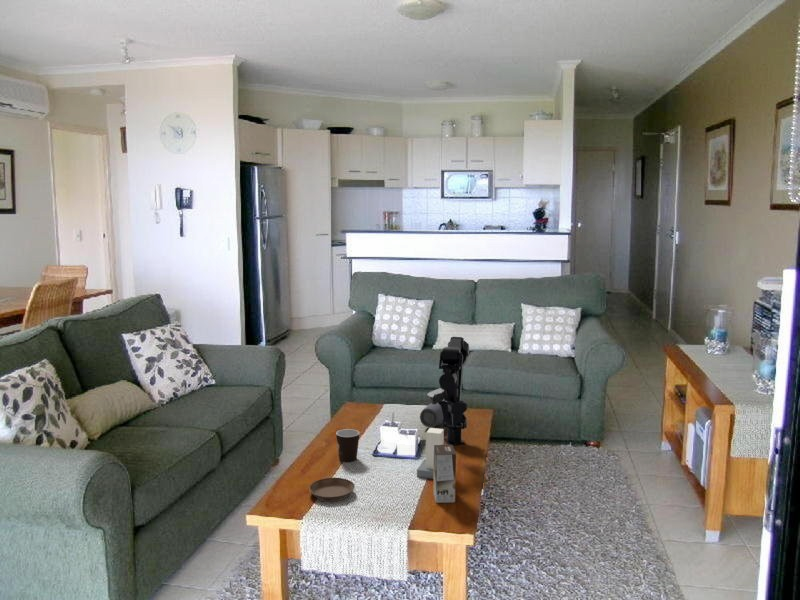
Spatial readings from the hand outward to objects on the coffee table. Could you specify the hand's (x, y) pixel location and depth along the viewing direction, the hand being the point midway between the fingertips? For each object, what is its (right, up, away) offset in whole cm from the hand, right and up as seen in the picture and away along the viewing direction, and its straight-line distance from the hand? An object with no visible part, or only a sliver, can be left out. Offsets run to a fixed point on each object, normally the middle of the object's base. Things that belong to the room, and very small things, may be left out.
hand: (449, 423), depth 254 cm
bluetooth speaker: (-2, -7, +41) cm, 42 cm away
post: (-6, -13, -14) cm, 20 cm away
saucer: (-41, -18, -31) cm, 54 cm away
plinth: (-6, -15, -14) cm, 21 cm away
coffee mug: (-37, -13, 0) cm, 40 cm away
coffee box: (-4, -18, -33) cm, 38 cm away
